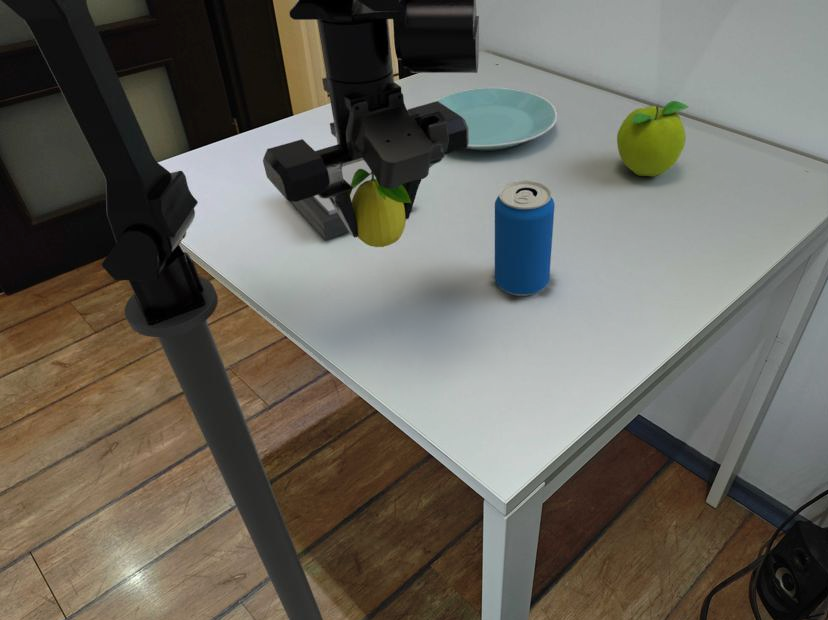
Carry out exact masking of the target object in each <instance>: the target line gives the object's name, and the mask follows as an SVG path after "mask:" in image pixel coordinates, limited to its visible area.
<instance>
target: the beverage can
mask: <svg viewBox="0 0 828 620" xmlns="http://www.w3.org/2000/svg"><path fill="white" fill-rule="evenodd" d="M498 191H499V192H498V196H497V197H496V199H495V202H494V282H495V284H496V285H497V286H498V288H499V289H500V290H503V291H504V292H506V293H508V294H510V295H513V296H517V297H526V296H531V295H535V294H537V293H539V292H541V291H543V290H544V289H545V288H546V287H547V286H548V284H549V282H550V276H551V273H550V272H551V263H552V262H551V259H552V246H553V235H554V234H553V233H554V221H555V220H554V219H555V205H556V204H555V201H554V199H553V197H552V192H551V189H550V187H548V186H546V185H545V184H543V183H540V182H539V181H533V180H516V181H512V182H509V183H506V184H504V185H503V186H501V188H500V190H498Z"/></svg>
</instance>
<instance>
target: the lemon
mask: <svg viewBox="0 0 828 620" xmlns="http://www.w3.org/2000/svg"><path fill="white" fill-rule="evenodd" d="M371 174H372V179H371V180H369V181H365V182H364V183H362V184H361V185H360V186H359V187H358V189H357V190H356V192H355V194H354V196H353V199H352V206H353V210H354V214H355V218H356V222H357V229H358V237H357V238H358V239H359V240H360V241H361V242H363V243H364V244H365V245H367V246H370V247H374V248H384V247H387V246H390V245H392V244H395V243H397V241H399V240H400V238H401V237H402V235H403V234H404V231H405V228H406V220H407V219H406V218H405V208H404V204H403V203H411V200H410V198H409V195H408V193H407V191H406V190H405V188H404V187H403V186H402V184H401V185H400V186H399V187H397V188H393V189H387V188H384V187H382V186H381V185H380V184H379V183H378V182H377V180H376V179H374V174H373V172H372V171H371V173H368V172H367V171H365V170H363V169H358V170H357V171H356V172H355V174H354V177H353V179H352V183H351V186H352V188H355V187H356V186H357V185H358V184H360V183H361V182H362V181H363V180H365V179H366V178H367V177H368V176H369V175H371Z"/></svg>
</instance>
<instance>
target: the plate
mask: <svg viewBox="0 0 828 620" xmlns="http://www.w3.org/2000/svg"><path fill="white" fill-rule="evenodd" d="M436 101H438V102H440V103H441V104H443V105H444V106H446V107H447V108H449V109H450V110H452V111H453V112H455V113H457V114H458V115H460V116H461V117H462V118H463V119H465V121H466V123H467V126H468V134H469V144H468V146H467V147H466V148H465V149H467V150H473V151H499V150H504V149H510V148H513V147H516V146H518V145H521V144H523V143H526V142H529V141H532V140H535V139H537V138H540V137H542V136H543V135H545V134H546V133H549V131H550V130H551V129H552V128H553V127H554V126H555V124H556V122H557V120H558V112H557V109H556V107H555V106H554V105H553V104H552V102H550V101H549V100H548V99H546V98H544V97H543V96H541V95H537V94H535V93H532V92H529V91H525V90H521V89H516V88H509V87H490V86H489V87H477V88H469V89H464V90H459V91H456V92H455V91H454V92H452V93H449V94H446V95H444V96H441V97H439V98H437V99H435V100H434V101H433V102H436Z"/></svg>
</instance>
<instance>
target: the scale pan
mask: <svg viewBox="0 0 828 620" xmlns="http://www.w3.org/2000/svg"><path fill="white" fill-rule="evenodd" d="M358 169H363V170H365V171H367V172H368V173H371V169H370V168H369V166H368V165H367V164H366V162H365V161H364V160H362V161H359V162H356V163H353V164H349V165H346V166H343V167H342V174H343V179H344V180H345V181H346V182H347V183H348V184H350V185H351V183H352V179H353V177H354V174H355V172H356V171H357V170H358ZM371 179H372V174H371V175H369V176H368V177H367V178H366V179H365V180H363V181H362V182H361V183H360V184H358V185H357V186H356V187H355V188H353V189H352V192H351V194H350V198H351V202H352V199H353V196H354V194H355V192H356V190H357V189H358V187H359V186H360V185H361V184H362V183H364V182H365V181H369V180H371ZM374 179H376V177H375V175H374ZM311 198H312V199H313V200H314V201H315V203H316V204H317V205H318V206H319V207H320V208H321V209H322V210H323V211H324V212H325V213H326V214H327V215H328V216H329V215H332V214H335V213H337V211H336V209H335V208H334V206H333V205H332V203H331V201H330V200H329V198H327V199H324V198H321V197H319V196H318V195H316V196H313V197H311Z"/></svg>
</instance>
